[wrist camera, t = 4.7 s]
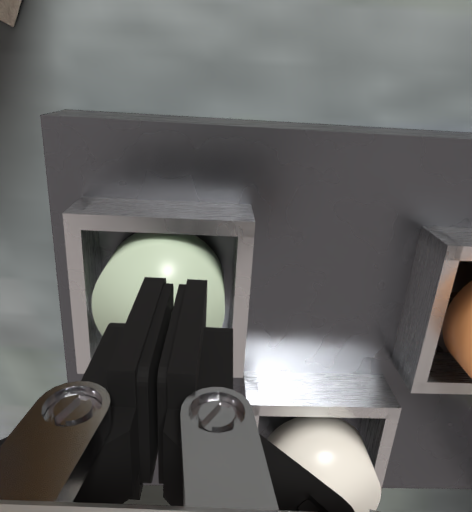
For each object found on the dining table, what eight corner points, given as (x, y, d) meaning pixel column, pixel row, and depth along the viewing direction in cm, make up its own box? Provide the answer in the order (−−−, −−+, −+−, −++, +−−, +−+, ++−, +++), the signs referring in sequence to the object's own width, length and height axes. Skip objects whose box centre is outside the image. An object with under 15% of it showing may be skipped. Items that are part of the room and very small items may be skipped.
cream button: (265, 413, 17) (271, 454, 15) (372, 415, 17) (391, 456, 15) (256, 492, 19) (261, 538, 17) (355, 493, 19) (370, 539, 17)
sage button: (103, 224, 15) (87, 245, 13) (226, 229, 15) (228, 250, 13) (109, 331, 17) (95, 363, 15) (221, 334, 17) (221, 366, 15)
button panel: (65, 109, 16) (13, 121, 12) (581, 138, 17) (695, 158, 13) (92, 442, 22) (63, 525, 18) (476, 448, 23) (531, 528, 19)
